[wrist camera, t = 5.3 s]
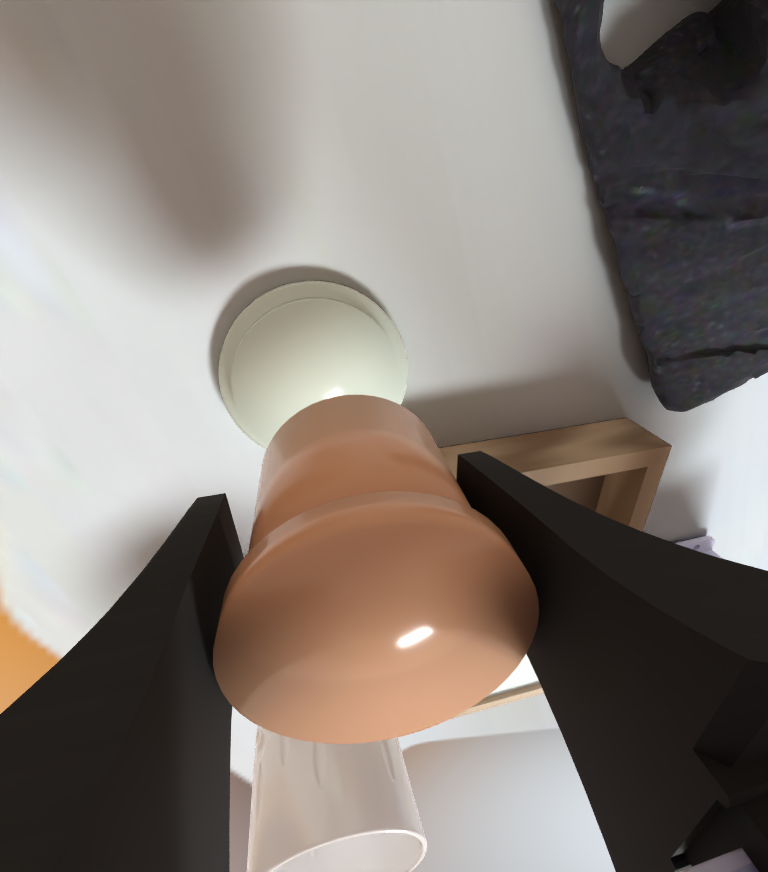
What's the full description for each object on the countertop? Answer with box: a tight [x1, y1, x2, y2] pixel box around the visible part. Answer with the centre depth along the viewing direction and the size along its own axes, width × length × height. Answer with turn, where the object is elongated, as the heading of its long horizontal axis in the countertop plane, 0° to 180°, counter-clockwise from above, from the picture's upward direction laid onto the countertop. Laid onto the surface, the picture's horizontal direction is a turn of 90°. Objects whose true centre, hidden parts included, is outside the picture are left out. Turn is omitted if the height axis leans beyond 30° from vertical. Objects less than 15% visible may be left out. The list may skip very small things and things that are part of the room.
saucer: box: [218, 281, 408, 449], centre depth 17 cm, size 8×8×1 cm
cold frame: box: [439, 418, 672, 531], centre depth 23 cm, size 14×11×4 cm
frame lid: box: [448, 654, 544, 720], centre depth 31 cm, size 10×10×1 cm
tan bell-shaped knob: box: [213, 395, 539, 744], centre depth 10 cm, size 6×6×6 cm
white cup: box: [247, 725, 427, 872], centre depth 23 cm, size 8×8×10 cm
